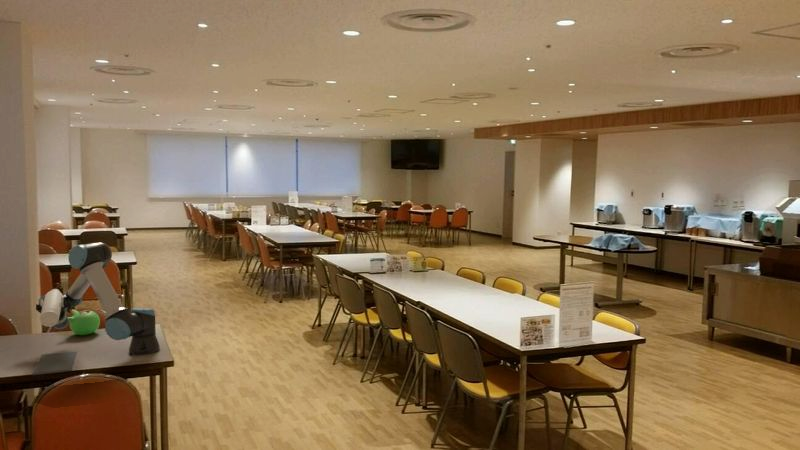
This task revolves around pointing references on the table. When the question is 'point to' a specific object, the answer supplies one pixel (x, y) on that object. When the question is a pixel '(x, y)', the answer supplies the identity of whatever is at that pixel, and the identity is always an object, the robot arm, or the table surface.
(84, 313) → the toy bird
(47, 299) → the bottle
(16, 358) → the table surface
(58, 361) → the mat
